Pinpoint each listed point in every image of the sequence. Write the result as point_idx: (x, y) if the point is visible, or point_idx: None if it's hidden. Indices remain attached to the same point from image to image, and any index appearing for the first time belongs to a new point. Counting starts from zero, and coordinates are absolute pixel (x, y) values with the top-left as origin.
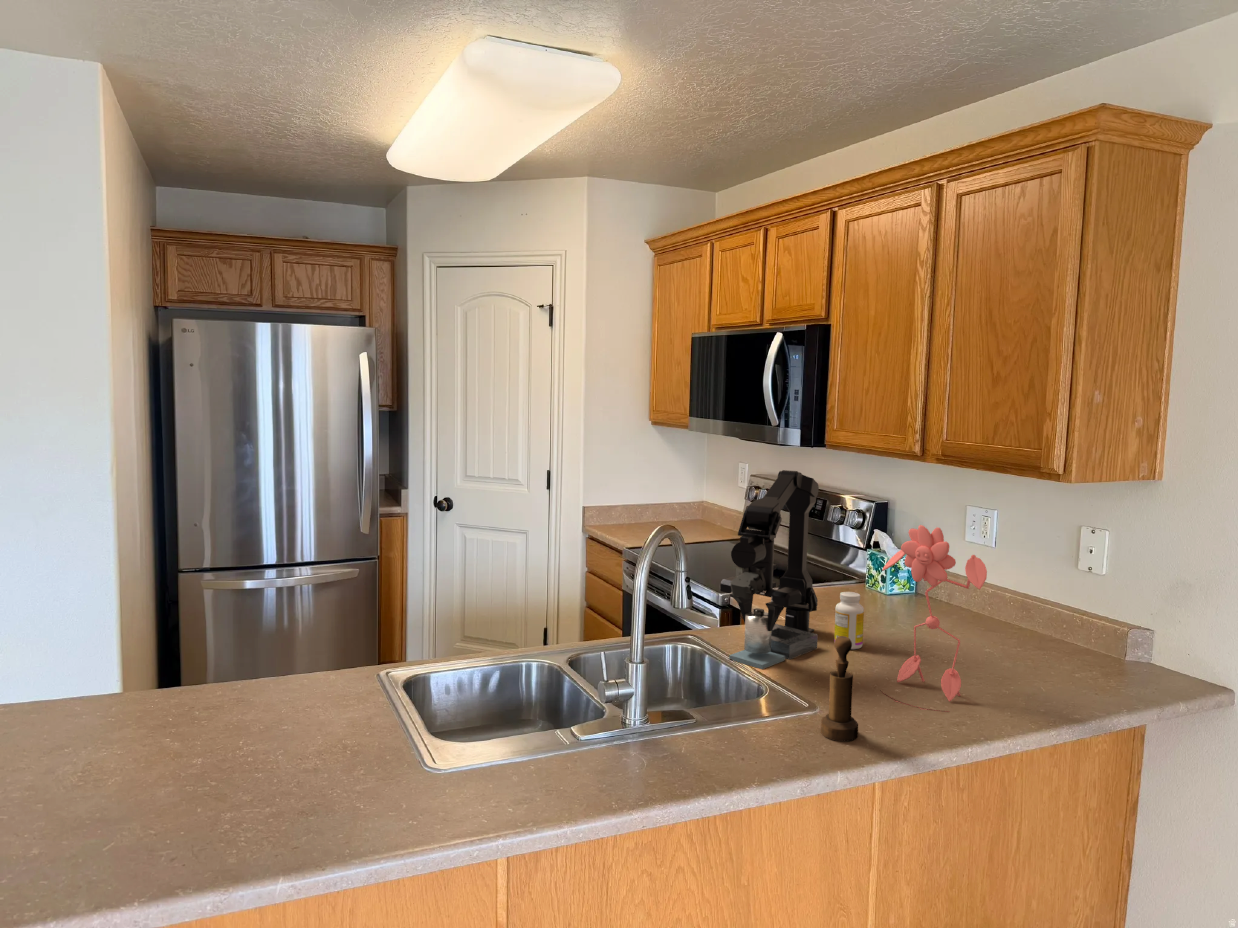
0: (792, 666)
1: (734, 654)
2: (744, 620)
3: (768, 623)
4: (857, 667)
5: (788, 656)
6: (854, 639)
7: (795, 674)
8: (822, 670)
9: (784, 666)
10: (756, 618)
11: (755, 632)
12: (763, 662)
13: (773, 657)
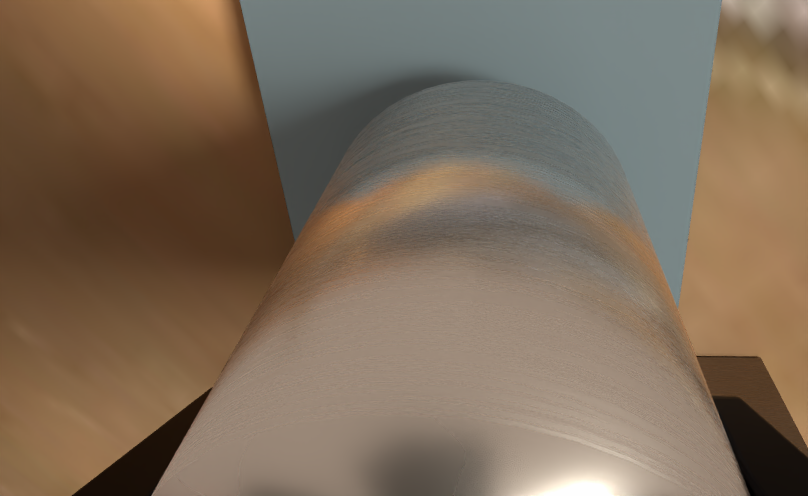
0: (192, 258)
1: (689, 27)
2: (774, 446)
3: (145, 471)
4: (20, 486)
5: None
6: None
7: (25, 127)
8: (39, 333)
9: (220, 214)
10: (242, 436)
11: (344, 220)
12: (291, 72)
13: None
